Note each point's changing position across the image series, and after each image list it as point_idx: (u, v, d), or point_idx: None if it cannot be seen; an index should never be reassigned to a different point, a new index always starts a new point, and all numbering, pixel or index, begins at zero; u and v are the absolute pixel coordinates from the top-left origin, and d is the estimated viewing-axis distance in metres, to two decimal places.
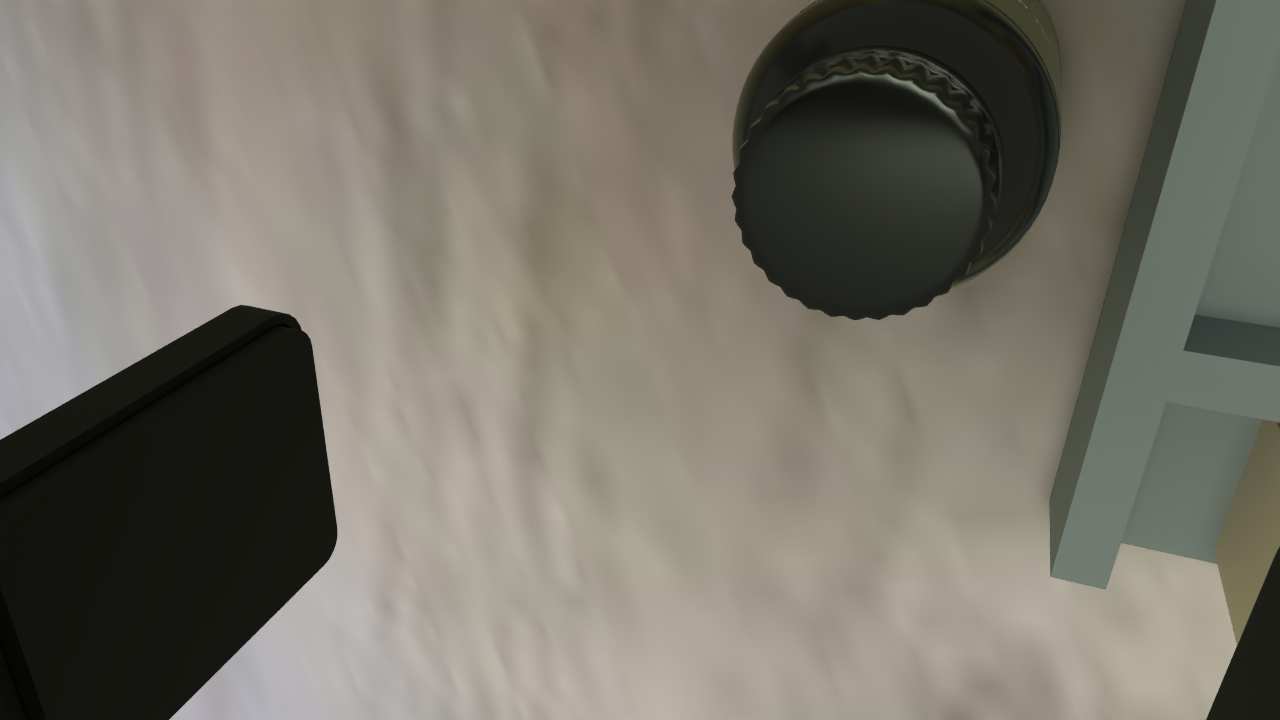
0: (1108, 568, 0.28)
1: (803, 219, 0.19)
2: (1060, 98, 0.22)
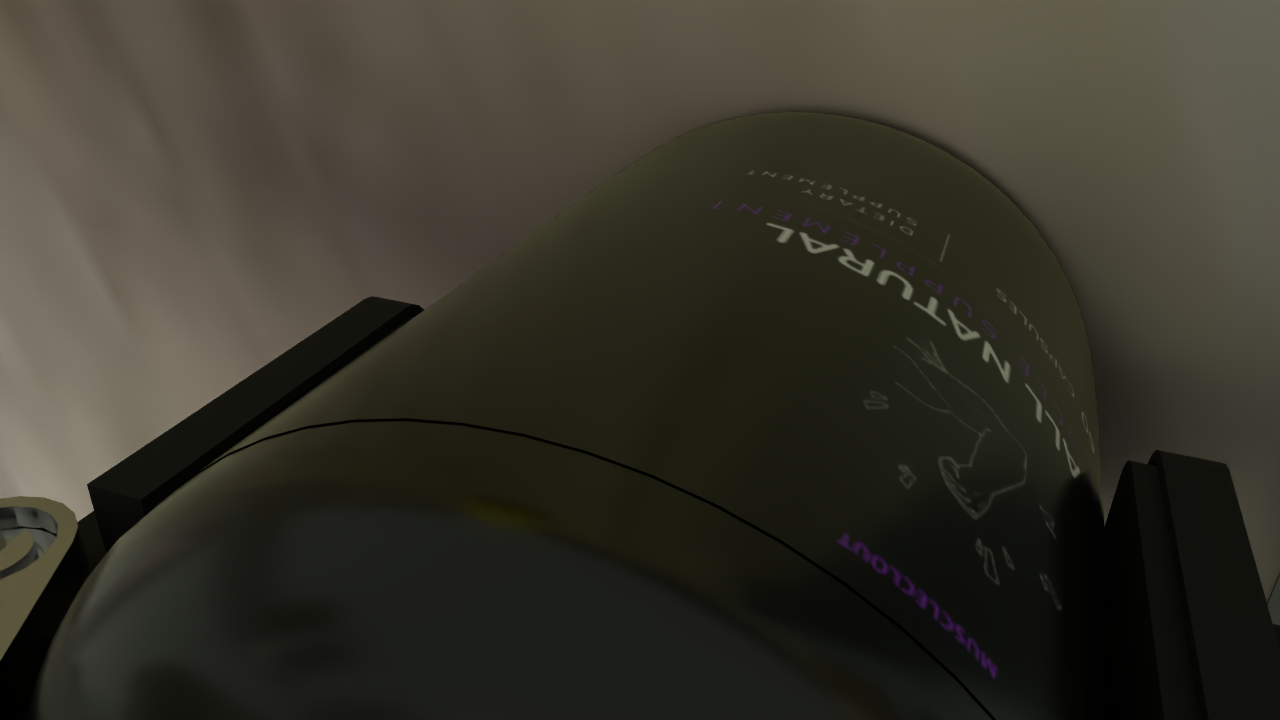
0: None
1: None
2: None
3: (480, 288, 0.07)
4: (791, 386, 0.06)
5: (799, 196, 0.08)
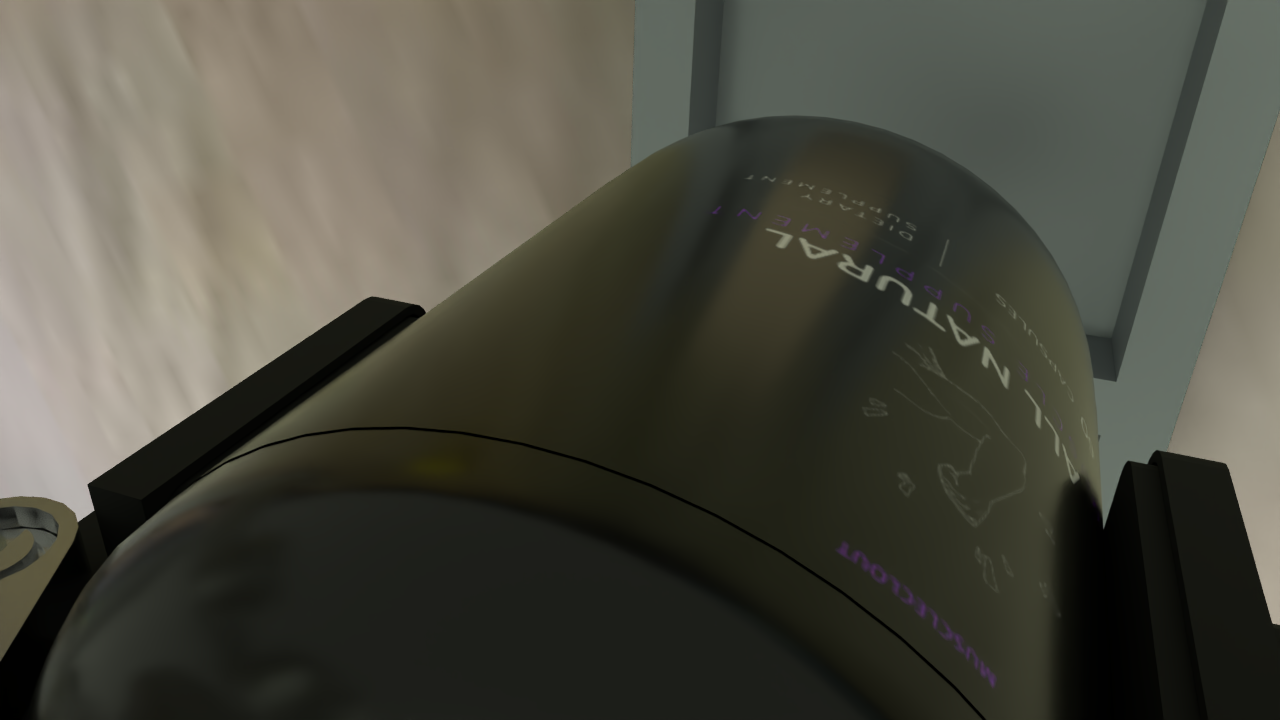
0: None
1: None
2: None
3: (479, 294, 0.07)
4: (790, 395, 0.06)
5: (799, 200, 0.08)
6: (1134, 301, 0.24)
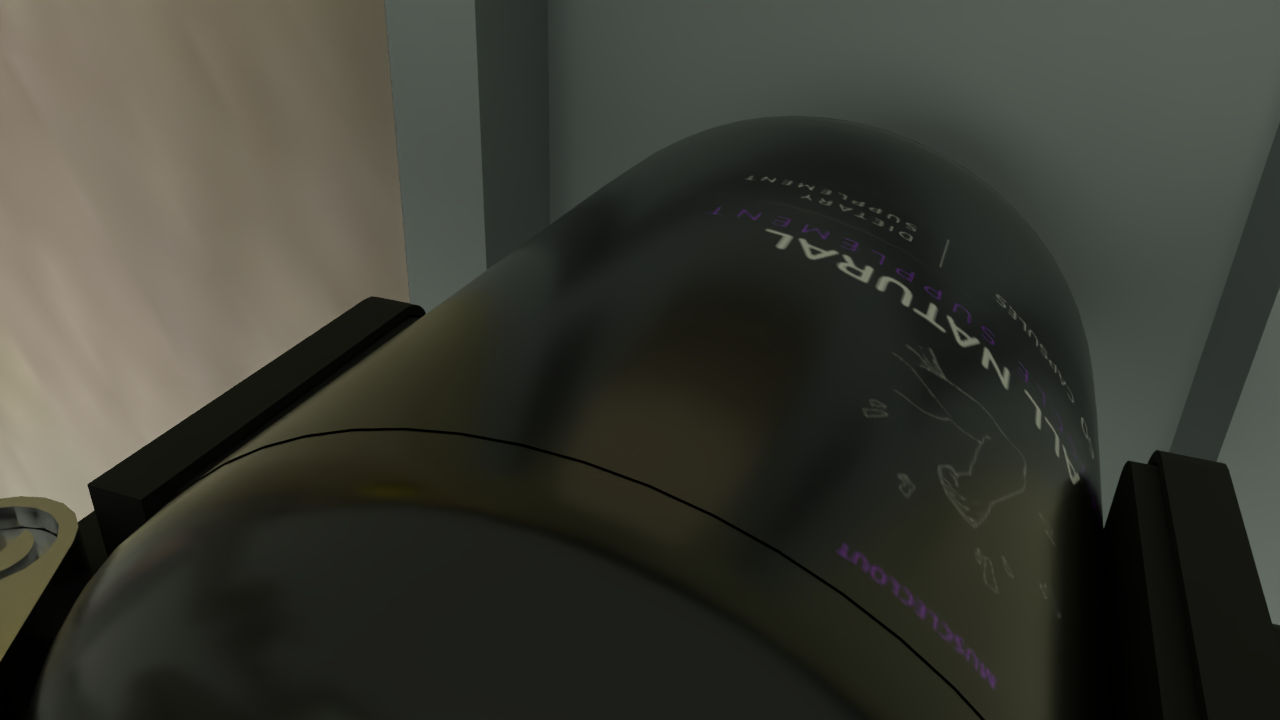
0: None
1: None
2: None
3: (479, 294, 0.07)
4: (790, 395, 0.06)
5: (798, 201, 0.08)
6: None
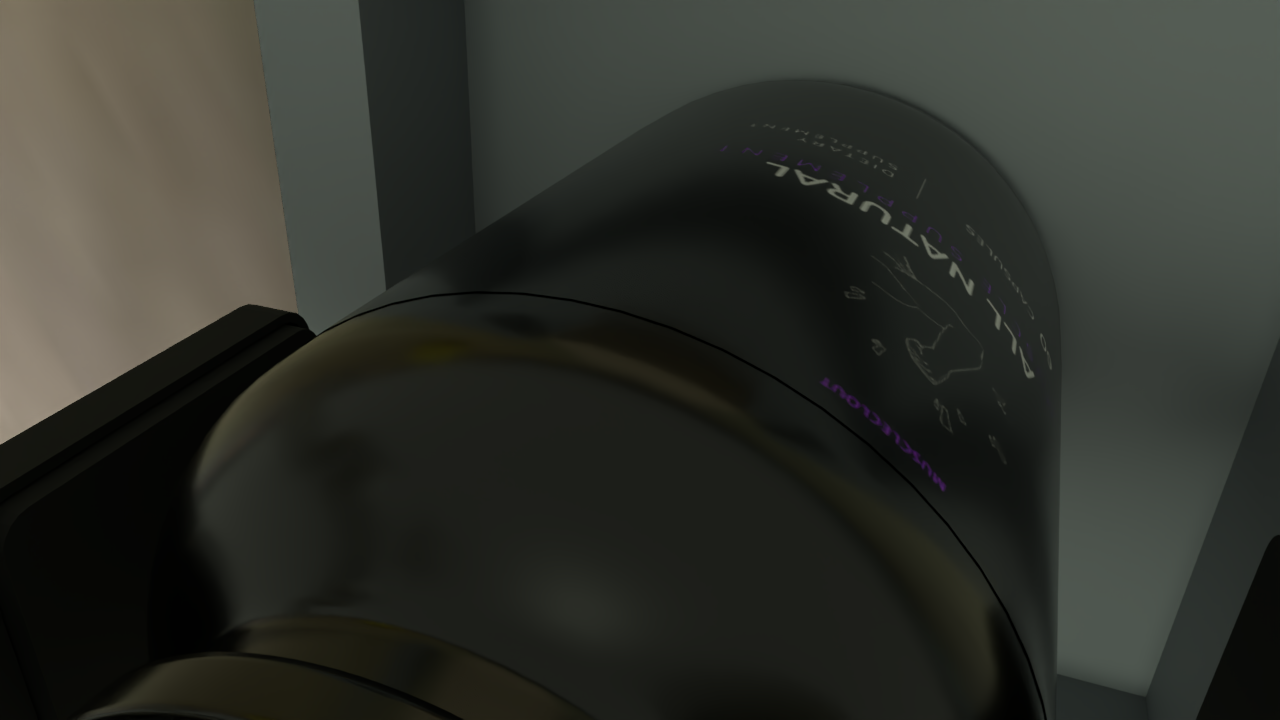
0: None
1: None
2: (1058, 531, 0.08)
3: (522, 213, 0.08)
4: (785, 279, 0.07)
5: (795, 143, 0.10)
6: (1195, 694, 0.13)
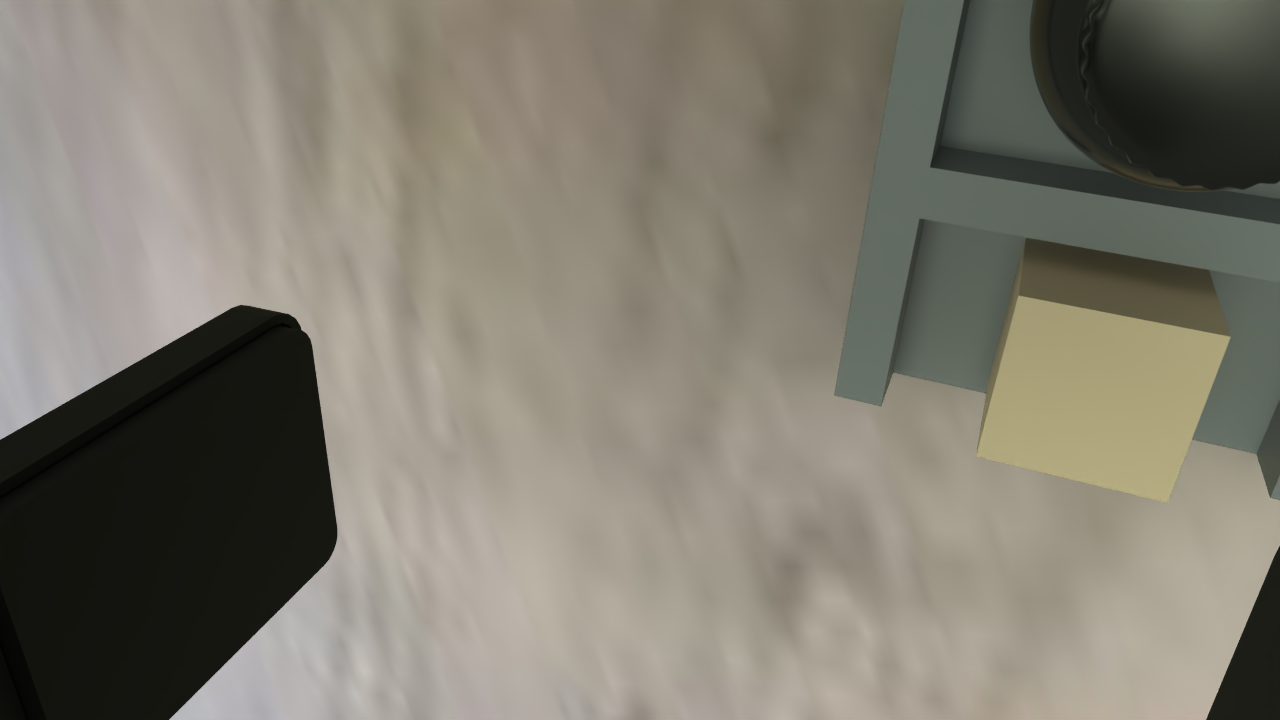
0: (882, 385, 0.31)
1: (1170, 70, 0.17)
2: None
3: None
4: None
5: None
6: None
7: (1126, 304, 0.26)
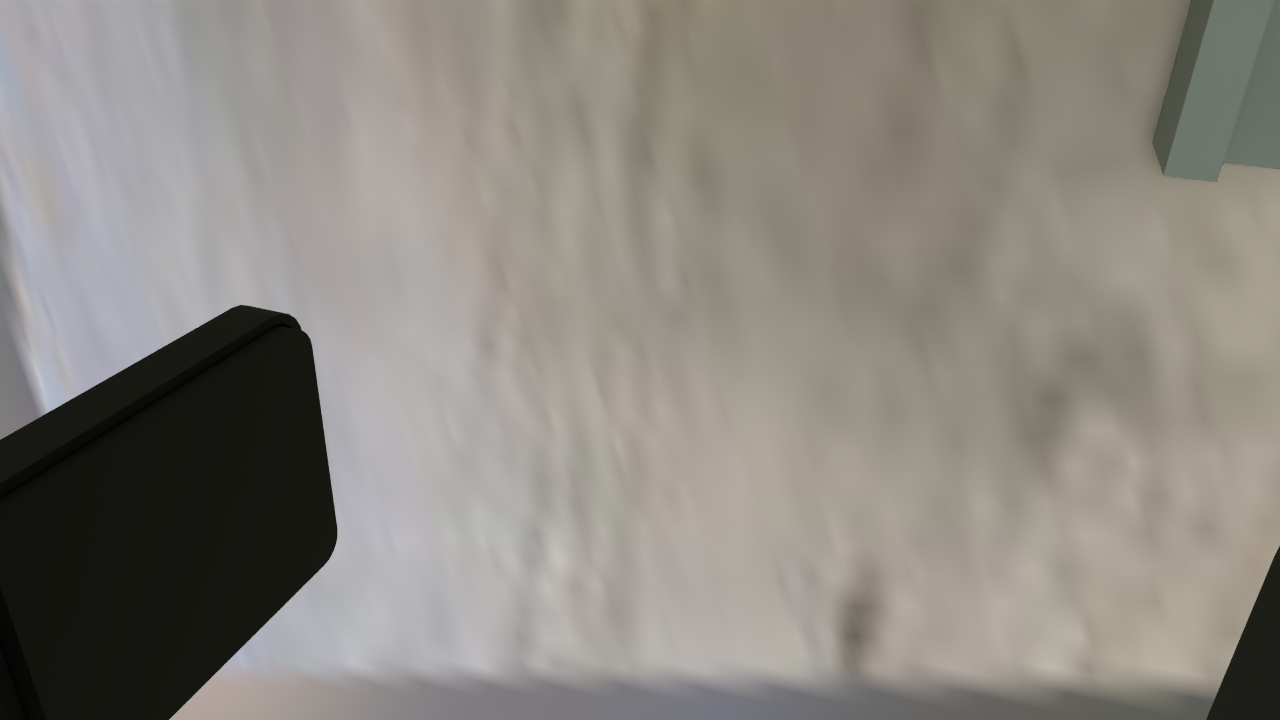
0: (1220, 158, 0.30)
1: None
2: None
3: None
4: None
5: None
6: None
7: None
